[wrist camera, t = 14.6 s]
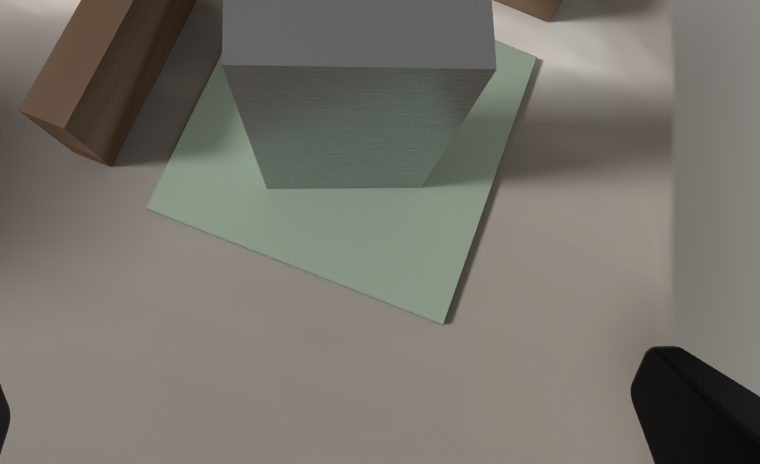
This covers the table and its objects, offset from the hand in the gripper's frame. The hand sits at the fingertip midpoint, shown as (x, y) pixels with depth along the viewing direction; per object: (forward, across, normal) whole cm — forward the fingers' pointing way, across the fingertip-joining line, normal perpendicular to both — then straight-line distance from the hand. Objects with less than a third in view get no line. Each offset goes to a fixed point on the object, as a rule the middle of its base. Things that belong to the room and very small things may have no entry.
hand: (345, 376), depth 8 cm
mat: (+16, -2, +3) cm, 16 cm away
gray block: (+16, -1, +2) cm, 17 cm away
